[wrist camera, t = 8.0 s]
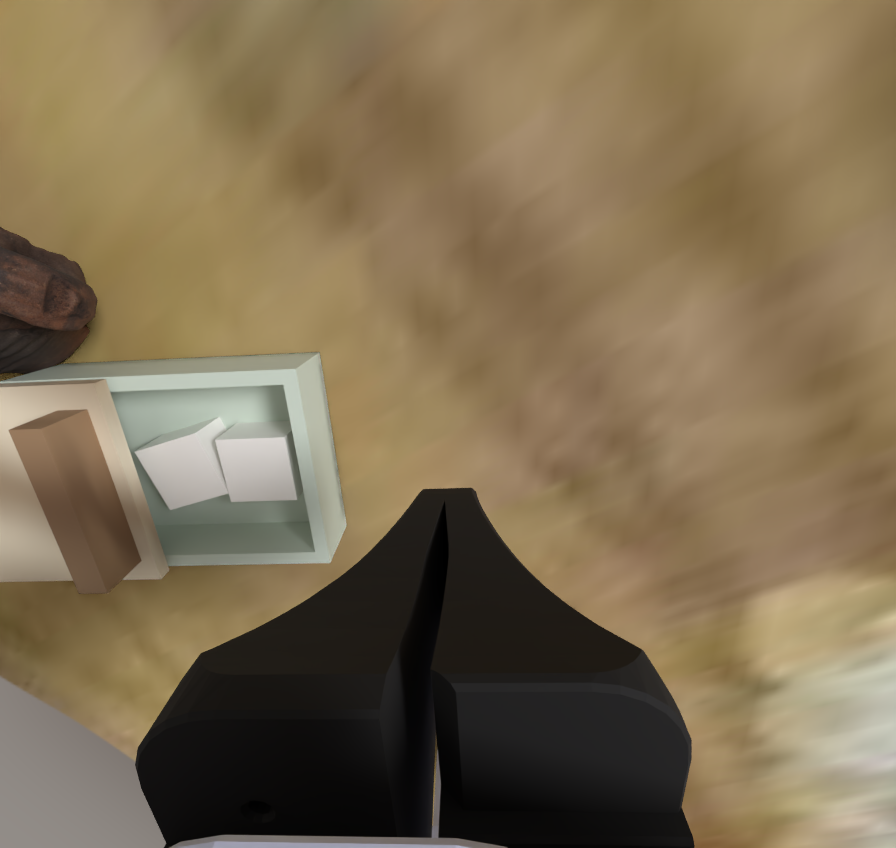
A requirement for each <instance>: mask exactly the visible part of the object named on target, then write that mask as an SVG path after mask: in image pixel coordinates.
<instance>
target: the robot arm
mask: <svg viewBox="0 0 896 848" xmlns="http://www.w3.org/2000/svg"><path fill="white" fill-rule="evenodd" d="M435 736H437V747H438V748H437V765H436V782H435V799H434V816H433V826H432V815H433V786H434V761H435ZM690 763H691V738H690V735H689V733H688V731H687V728H686V725H685V723H684V720H683V718H682V715H681V713H680V711H679V709H678V707H677V705H676V703H675V701H674V699H673V697H672V696H671V694H670V692H669V691H668V689H667V687H666V686H665V684H664V682H663V681H662V679H661V677H660V676H659V674H658V673H657V671H656V669H655V668H654V666H653V665H652V663H651V662H650V660H649V659H648V657H647V655H646V654H645V652H644V651H643V650H642V649H640V648H638V647H637V646H635V645H633V644H631V643H629V642H628V641H626V640H624V639H622V638H620V637H618V636H617V635H615V634H613V633H611V632H609V631H608V630H606V629H604V628H602V627H600V626H599V625H597V624H596V623H594V622H592V621H591V620H589V619H588V618H586V617H585V616H583V615H582V614H580V613H579V612H577V611H576V610H574V609H573V608H572V607H570V606H569V605H567V604H566V603H565V602H564V601H562V600H561V599H560V598H559V597H557V596H556V595H555V594H554V593H552V592H551V591H550V590H549V589H547V588H546V587H545V586H544V585H543V584H542V583H541V582H540V581H539V580H537V579H536V578H535V577H534V576H533V575H532V574H531V573H530V572H529V571H528V570H527V569H526V568H525V567H524V566H523V564H522V563H521V562H520V561H519V560H518V559H517V558H516V557H515V555H514V554H513V553H512V552H511V551H510V549H509V548H508V547H507V545H506V544H505V543H504V542H503V540H502V539H501V537H500V536H499V535H498V533H497V532H496V530H495V529H494V527H493V526H492V524H491V523H490V521H489V519H488V518H487V516H486V514H485V512H484V511H483V509H482V507H481V505H480V502H479V500H478V497H477V494H476V491H474V490H473V489H472V488H451V489H423V490H422V491H421V492H420V493H419V494H418V496H417V497H416V498H415V500H414V501H413V503H412V504H411V505H410V506H409V508H408V509H407V510H406V512H405V513H404V514H403V515H402V517H401V518H400V519H399V520H398V521H397V523H396V524H395V525H394V526H393V527H392V528H391V530H390V531H389V532H388V533H387V534H386V535H385V536H384V537H383V538H382V539H381V540H380V541H379V542H378V543H377V544H376V545H375V547H374V548H373V549H372V550H371V551H370V552H369V553H368V554H367V555H365V556H364V557H363V558H362V559H361V560H360V561H359V562H358V563H357V564H355V565H354V566H353V567H352V568H350V569H349V570H348V571H347V572H346V573H344V574H343V575H342V576H340V577H339V578H338V579H336V580H335V581H334V582H332V583H331V584H329V585H328V586H326V587H325V588H323V589H322V590H320V591H319V592H318V593H316V594H315V595H313V596H312V597H310V598H309V599H307V600H306V601H304V602H303V603H301V604H299V605H297V606H296V607H294V608H292V609H291V610H289V611H287V612H286V613H284V614H282V615H280V616H278V617H277V618H275V619H273V620H271V621H269V622H267V623H265V624H264V625H262V626H260V627H258V628H256V629H254V630H252V631H249V632H247V633H245V634H243V635H241V636H239V637H236V638H234V639H232V640H230V641H228V642H226V643H223V644H221V645H219V646H217V647H215V648H213V649H210V650H208V651H205V652H203V653H201V654H200V655H199V657H198V658H197V659H196V661H195V662H194V664H193V665H192V666H191V668H190V669H189V670H188V672H187V673H186V674H185V676H184V677H183V679H182V680H181V682H180V683H179V685H178V686H177V688H176V689H175V691H174V693H173V694H172V696H171V697H170V699H169V700H168V702H167V703H166V705H165V707H164V708H163V710H162V711H161V713H160V714H159V716H158V717H157V719H156V721H155V722H154V724H153V725H152V727H151V728H150V730H149V731H148V733H147V735H146V736H145V738H144V739H143V741H142V742H141V744H140V745H139V747H138V750H137V757H136V764H135V766H136V770H137V773H138V777H139V781H140V785H141V789H142V791H143V793H144V795H145V797H146V800H147V802H148V804H149V806H150V808H151V810H152V812H153V815H154V817H155V819H156V821H157V824H158V826H159V828H160V830H161V832H162V834H163V837H164V839H165V841H166V845H165V847H164V848H694V841H693V836H692V834H691V831H690V828H689V826H688V823H687V821H686V818H685V815H684V813H683V810H682V808H681V806H682V802H683V797H684V792H685V787H686V782H687V777H688V773H689V768H690Z"/></svg>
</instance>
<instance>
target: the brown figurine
mask: <svg viewBox="0 0 896 848" xmlns="http://www.w3.org/2000/svg"><path fill="white" fill-rule="evenodd" d="M96 305H97V298H96V296H95V294H94V291H93V290H92V288H91V287H90V286H88V285H87V284H86V281H85V277H84V274H83V272H82V270H81V268H80V266H79V264H78V263H76V262H74V261H70V260H68V259H67V258H66V257H65V256H63V255H60V254H56V253H53V252H49V251H46V250H44V249H42V248H38V247H35V246H33V245H31V244H30V243H29V241H28V240H27V239H25V238H23V237H21V236H19V235H17V234H14V233H11V232H9V231H7V230H4V229H3V228H1V227H0V373H22V374H27V373H32V372H35V371H39V370H42V369H46V368H49V367H52V366H54V365H56V364H59V363H61V362H63V361H64V360H65V359H67V358H68V357H69V356H71V355H72V354H73V352H74V351H75V349H76V348H78V347H79V346H80V344H81V343H82V342H83V341H84V339H85V338H86V337H87V335H88V334H89V329H88V328H87V327H86V326H85V325H86V324H87V323H88V322H89V321H91V320H92V319H93V318H94V317H95V313H96Z"/></svg>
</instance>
